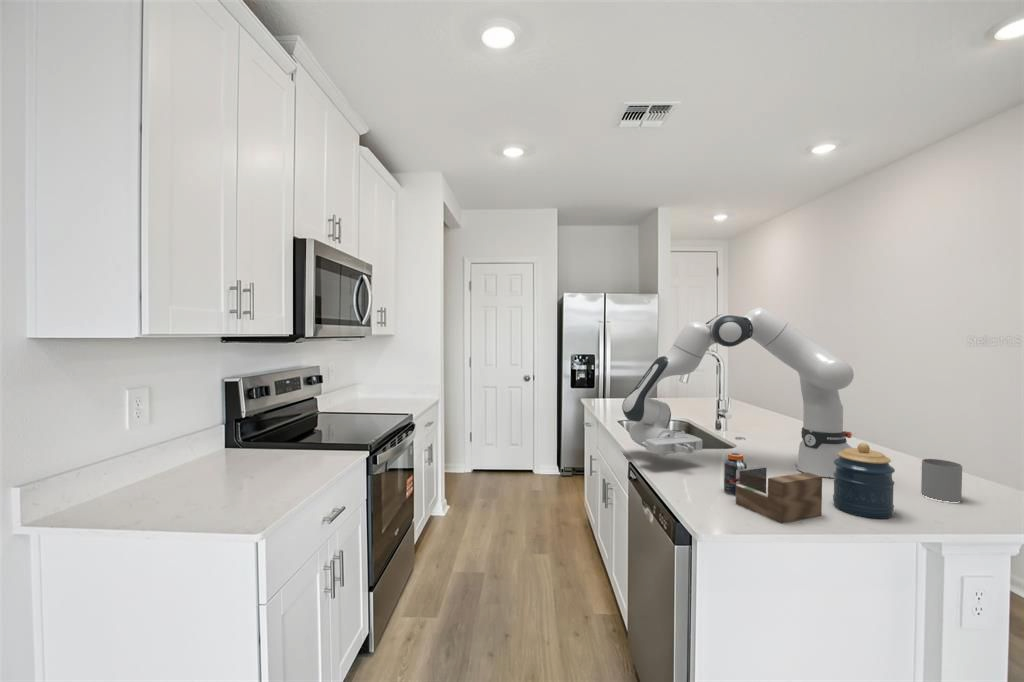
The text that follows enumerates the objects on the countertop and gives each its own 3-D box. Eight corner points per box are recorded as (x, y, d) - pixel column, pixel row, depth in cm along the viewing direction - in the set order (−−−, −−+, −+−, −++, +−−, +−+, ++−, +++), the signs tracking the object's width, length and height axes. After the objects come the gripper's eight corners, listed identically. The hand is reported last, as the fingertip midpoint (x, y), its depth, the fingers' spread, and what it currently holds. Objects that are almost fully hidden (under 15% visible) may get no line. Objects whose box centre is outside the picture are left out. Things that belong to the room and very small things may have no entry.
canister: (897, 523, 116) (899, 452, 116) (833, 512, 123) (835, 445, 123) (889, 506, 127) (891, 441, 127) (831, 497, 134) (832, 435, 134)
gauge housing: (773, 497, 134) (774, 462, 134) (821, 515, 121) (822, 476, 121) (735, 503, 129) (736, 467, 129) (781, 523, 116) (782, 482, 116)
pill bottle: (749, 496, 135) (749, 457, 135) (726, 495, 136) (727, 456, 136) (743, 489, 141) (743, 451, 140) (721, 488, 142) (722, 450, 142)
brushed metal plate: (762, 494, 136) (762, 466, 135) (766, 495, 134) (766, 467, 134) (728, 499, 131) (729, 470, 131) (732, 501, 130) (732, 472, 130)
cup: (951, 494, 137) (952, 460, 136) (968, 504, 129) (969, 468, 129) (915, 491, 139) (916, 457, 139) (929, 501, 132) (930, 465, 131)
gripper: (638, 433, 164) (664, 443, 151) (685, 430, 172) (714, 438, 159) (637, 452, 164) (663, 462, 152) (685, 447, 172) (713, 457, 159)
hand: (690, 450), depth 155 cm, fingers closed
